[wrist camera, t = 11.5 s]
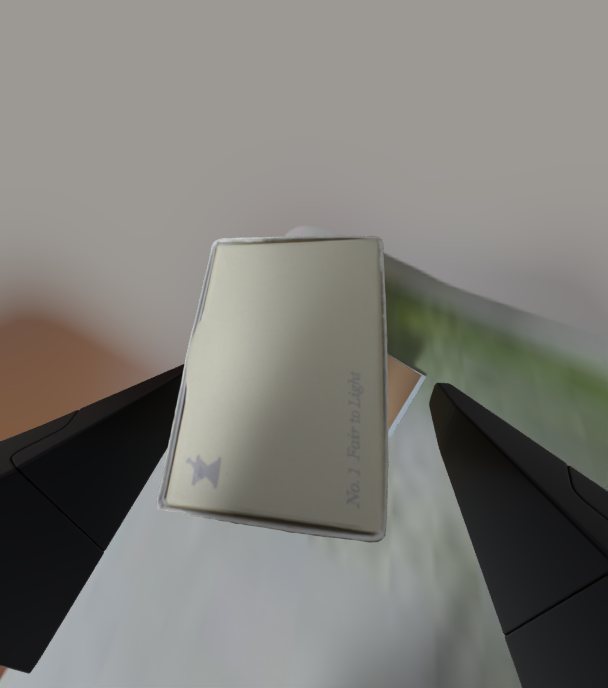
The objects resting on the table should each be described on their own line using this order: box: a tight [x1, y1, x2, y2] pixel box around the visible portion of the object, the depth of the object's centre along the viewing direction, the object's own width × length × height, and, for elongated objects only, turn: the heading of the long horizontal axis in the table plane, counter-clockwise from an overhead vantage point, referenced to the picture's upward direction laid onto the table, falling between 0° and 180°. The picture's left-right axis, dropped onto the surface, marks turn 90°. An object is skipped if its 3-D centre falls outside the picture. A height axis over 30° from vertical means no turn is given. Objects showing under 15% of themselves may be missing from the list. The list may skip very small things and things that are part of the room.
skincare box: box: [157, 236, 389, 542], centre depth 11 cm, size 6×4×12 cm
